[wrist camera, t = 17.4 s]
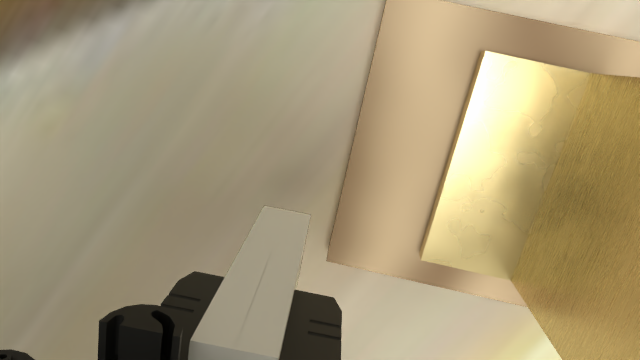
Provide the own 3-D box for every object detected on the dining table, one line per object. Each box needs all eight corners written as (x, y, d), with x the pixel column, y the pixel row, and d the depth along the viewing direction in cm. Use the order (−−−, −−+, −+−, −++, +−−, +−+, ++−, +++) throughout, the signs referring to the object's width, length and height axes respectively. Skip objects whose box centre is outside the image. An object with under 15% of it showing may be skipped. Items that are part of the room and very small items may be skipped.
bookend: (419, 253, 19) (465, 416, 11) (481, 51, 16) (611, 48, 8) (528, 278, 19) (665, 464, 10) (609, 78, 16) (883, 105, 8)
